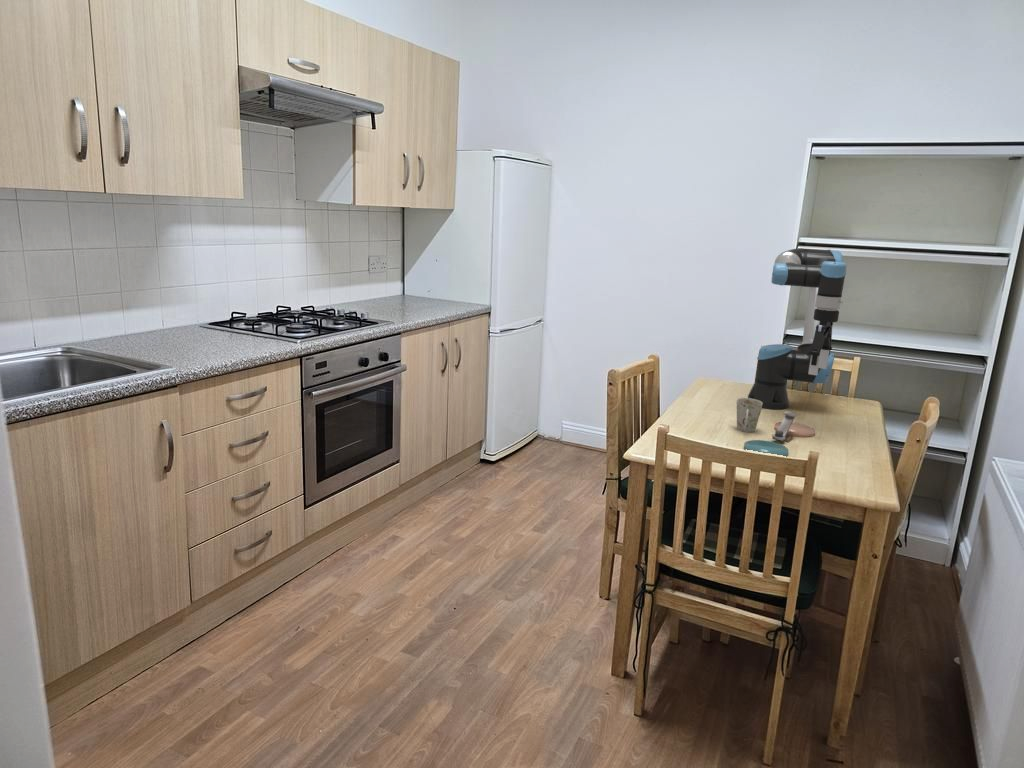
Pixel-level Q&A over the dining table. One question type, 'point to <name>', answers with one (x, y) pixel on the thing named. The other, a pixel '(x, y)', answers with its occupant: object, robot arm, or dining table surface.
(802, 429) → the dish back
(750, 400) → the mug
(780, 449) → the dish front
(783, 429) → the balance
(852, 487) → the dining table surface
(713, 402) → the dining table surface
